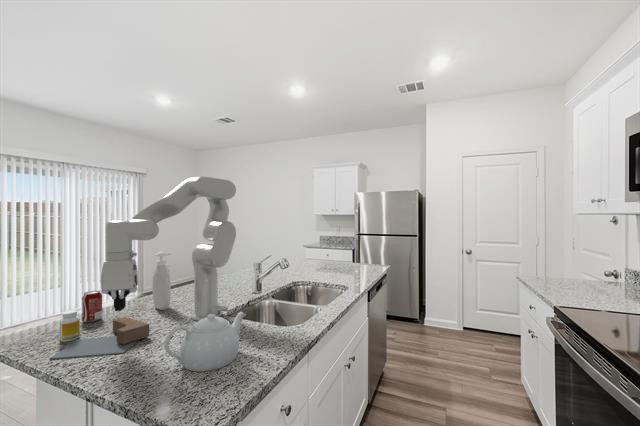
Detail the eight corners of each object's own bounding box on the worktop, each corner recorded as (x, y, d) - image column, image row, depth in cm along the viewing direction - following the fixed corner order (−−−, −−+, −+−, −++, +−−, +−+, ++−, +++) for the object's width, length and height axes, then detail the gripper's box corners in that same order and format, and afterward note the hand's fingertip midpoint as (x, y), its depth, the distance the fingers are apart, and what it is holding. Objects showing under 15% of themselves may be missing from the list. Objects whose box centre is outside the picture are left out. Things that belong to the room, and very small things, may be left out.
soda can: (106, 318, 126) (105, 290, 126) (89, 324, 119) (89, 294, 119) (95, 316, 128) (95, 289, 128) (78, 322, 122) (77, 293, 122)
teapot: (194, 345, 99) (193, 305, 99) (247, 345, 99) (247, 305, 99) (162, 376, 81) (162, 327, 81) (228, 376, 80) (227, 327, 80)
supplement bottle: (82, 337, 107) (82, 310, 107) (65, 343, 102) (64, 315, 102) (74, 334, 109) (74, 308, 109) (57, 340, 104) (56, 313, 104)
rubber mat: (142, 335, 108) (142, 334, 108) (124, 353, 94) (124, 352, 94) (79, 340, 104) (79, 339, 104) (49, 359, 90) (49, 358, 90)
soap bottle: (178, 308, 138) (177, 251, 138) (159, 313, 132) (159, 253, 132) (166, 302, 147) (165, 249, 147) (148, 306, 141) (148, 251, 141)
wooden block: (122, 331, 98) (98, 323, 108) (122, 345, 98) (98, 335, 107) (149, 323, 106) (125, 316, 115) (149, 336, 106) (125, 327, 115)
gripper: (147, 254, 105) (147, 305, 105) (101, 255, 102) (101, 307, 102) (138, 257, 98) (138, 312, 98) (88, 258, 95) (88, 315, 95)
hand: (119, 309), depth 100 cm, fingers closed
